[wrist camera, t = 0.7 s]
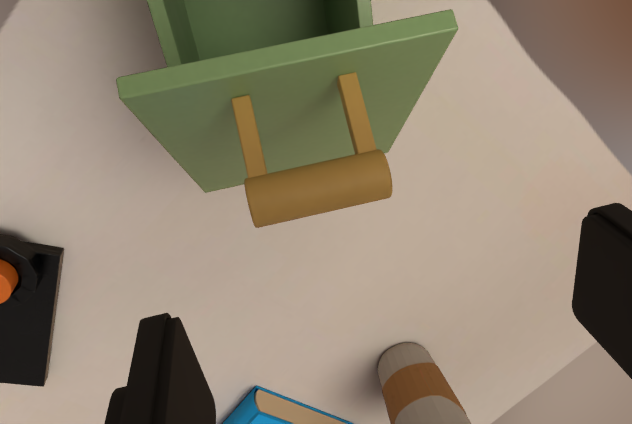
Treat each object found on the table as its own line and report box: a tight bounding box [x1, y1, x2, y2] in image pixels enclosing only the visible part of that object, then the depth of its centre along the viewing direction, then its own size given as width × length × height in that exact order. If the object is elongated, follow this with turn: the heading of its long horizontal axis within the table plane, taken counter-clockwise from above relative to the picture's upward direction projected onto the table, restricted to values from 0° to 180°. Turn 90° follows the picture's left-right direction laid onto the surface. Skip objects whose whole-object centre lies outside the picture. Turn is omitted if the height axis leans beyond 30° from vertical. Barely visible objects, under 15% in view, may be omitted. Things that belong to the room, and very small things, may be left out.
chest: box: [147, 0, 373, 67], centre depth 33 cm, size 14×12×12 cm
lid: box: [116, 9, 458, 228], centre depth 23 cm, size 14×12×6 cm
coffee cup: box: [378, 343, 471, 424], centre depth 52 cm, size 8×8×15 cm
